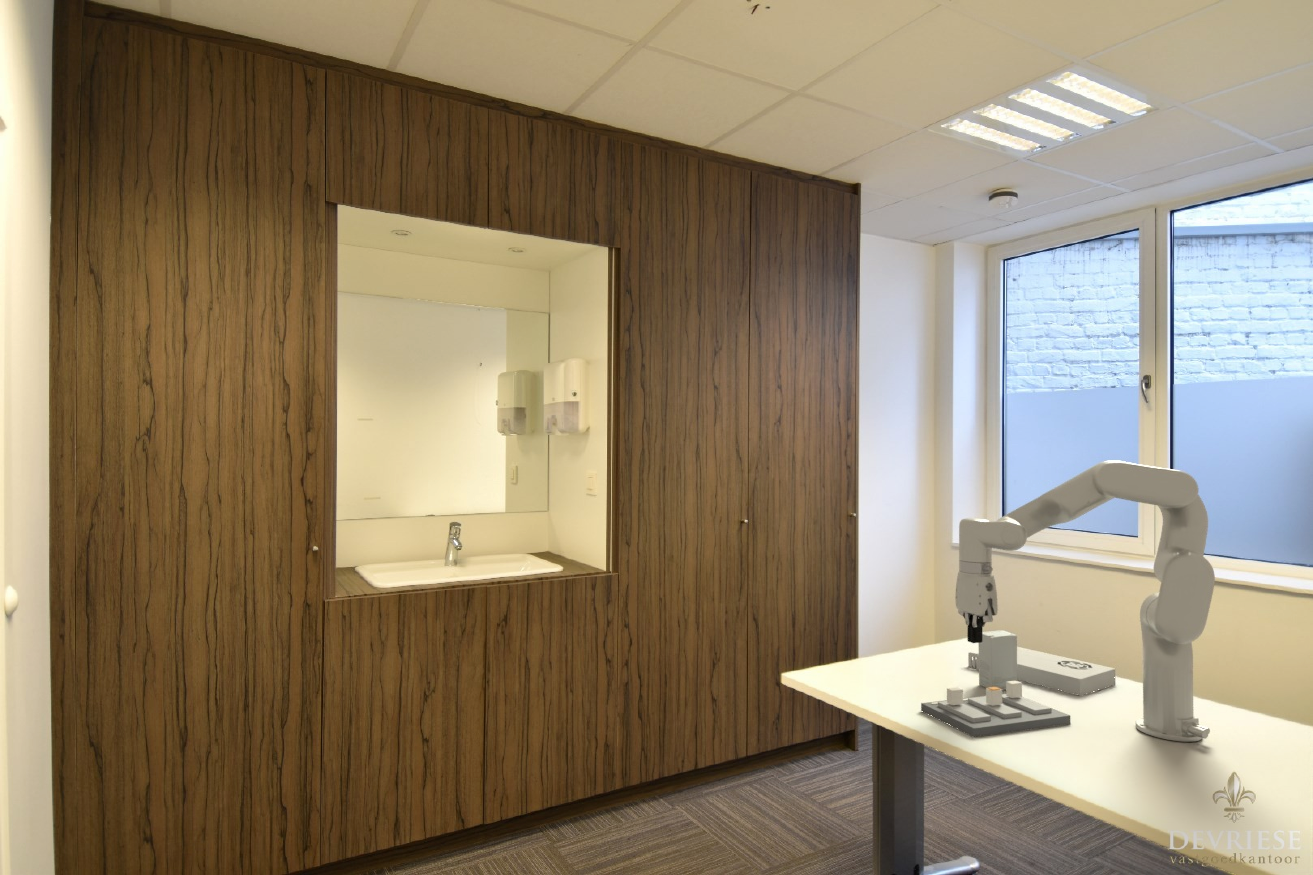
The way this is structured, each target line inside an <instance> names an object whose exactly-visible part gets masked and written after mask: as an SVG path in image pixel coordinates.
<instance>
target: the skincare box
mask: <svg viewBox="0 0 1313 875" xmlns="http://www.w3.org/2000/svg"><path fill="white" fill-rule="evenodd" d="M1017 647H1018V635H1017V634H1015V633H1012V632H1009V631H1006V630H1003V629H1000V630H993V631H991V630H990V631H982V642H981V643H978V653H979V669H978V683H979V685H980V686H981V687H982V688H983V687H984V688H985V689H986V688H988V687H998V688H1000V689H1001V690H1002V691H1006V682H1007V681H1018V680H1017Z"/></svg>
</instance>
